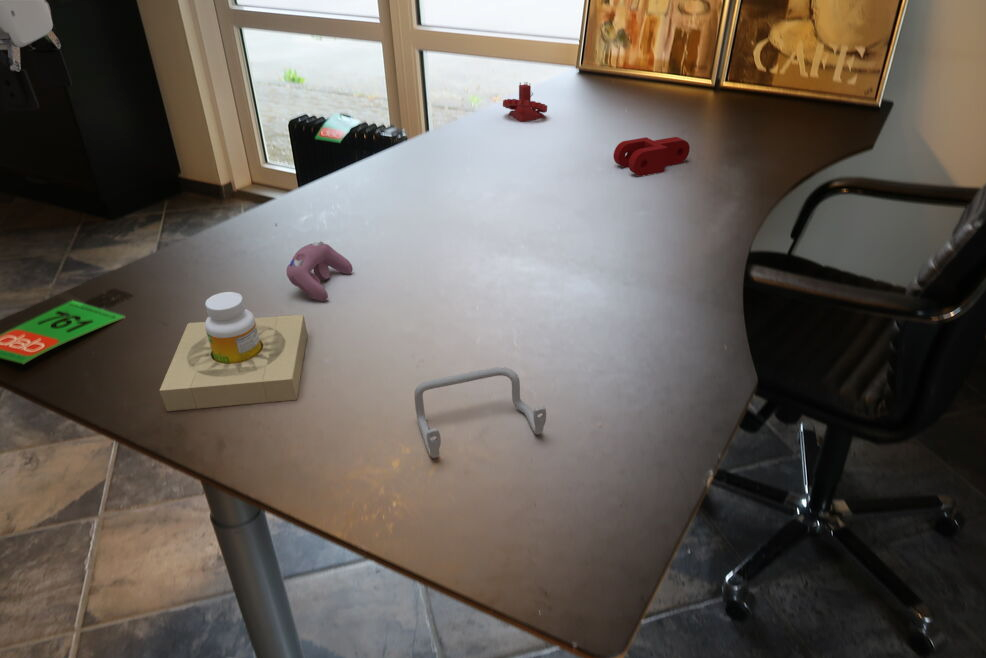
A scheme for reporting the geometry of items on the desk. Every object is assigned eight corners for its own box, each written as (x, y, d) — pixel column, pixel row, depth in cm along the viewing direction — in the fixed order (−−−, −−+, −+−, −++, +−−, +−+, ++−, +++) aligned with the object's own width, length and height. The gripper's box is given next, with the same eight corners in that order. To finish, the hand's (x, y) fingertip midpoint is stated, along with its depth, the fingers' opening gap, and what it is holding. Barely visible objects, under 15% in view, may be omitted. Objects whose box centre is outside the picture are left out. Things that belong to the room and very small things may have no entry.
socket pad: (166, 411, 78) (159, 390, 77) (194, 342, 90) (187, 322, 88) (296, 399, 81) (292, 378, 79) (307, 334, 92) (303, 314, 90)
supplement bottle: (209, 372, 85) (187, 302, 79) (247, 352, 88) (229, 284, 83) (237, 388, 82) (217, 317, 76) (275, 366, 86) (258, 297, 80)
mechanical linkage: (632, 178, 140) (635, 153, 137) (612, 166, 145) (614, 142, 143) (695, 165, 147) (698, 142, 144) (673, 155, 152) (676, 132, 149)
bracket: (429, 466, 73) (426, 431, 69) (414, 416, 78) (410, 382, 75) (546, 439, 76) (548, 405, 73) (522, 393, 82) (523, 359, 79)
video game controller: (334, 278, 107) (308, 238, 104) (357, 269, 106) (331, 228, 102) (303, 310, 99) (274, 268, 96) (328, 301, 98) (299, 258, 95)
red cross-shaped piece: (552, 112, 176) (553, 77, 172) (541, 126, 167) (542, 89, 162) (511, 108, 178) (511, 74, 173) (497, 122, 169) (497, 86, 164)
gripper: (-28, -88, 75) (35, 79, 85) (-121, -77, 61) (-33, 121, 71) (49, -87, 77) (102, 77, 86) (-26, -76, 63) (48, 119, 72)
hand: (41, 97), depth 79 cm, fingers open, 9 cm apart
